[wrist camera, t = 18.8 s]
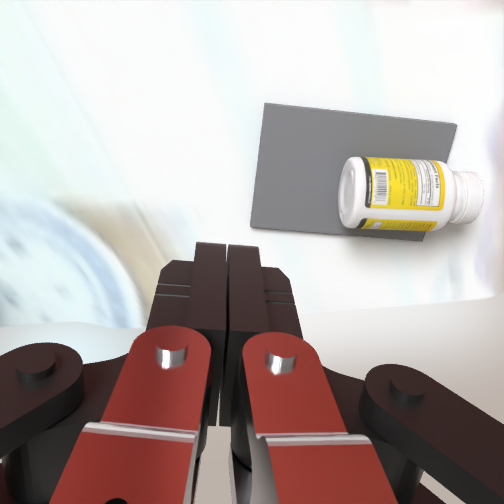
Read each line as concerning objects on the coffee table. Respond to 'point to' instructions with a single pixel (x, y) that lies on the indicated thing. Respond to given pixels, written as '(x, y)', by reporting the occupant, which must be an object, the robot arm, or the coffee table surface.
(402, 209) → the supplement bottle
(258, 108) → the coffee table surface
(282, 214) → the rubber mat
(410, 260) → the coffee table surface
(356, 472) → the robot arm
